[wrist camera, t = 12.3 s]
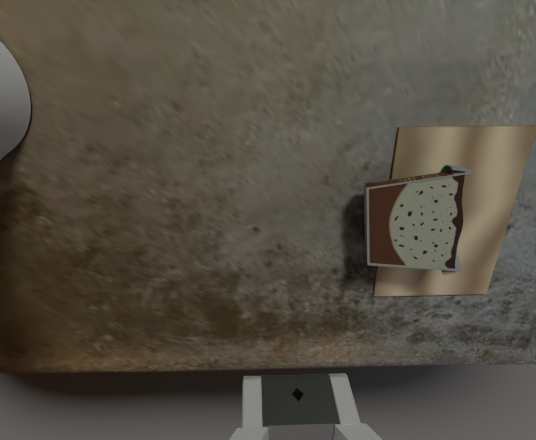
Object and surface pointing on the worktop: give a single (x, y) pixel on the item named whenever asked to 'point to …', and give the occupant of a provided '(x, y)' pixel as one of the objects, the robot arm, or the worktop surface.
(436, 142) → the oak board
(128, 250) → the worktop surface
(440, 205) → the food container
